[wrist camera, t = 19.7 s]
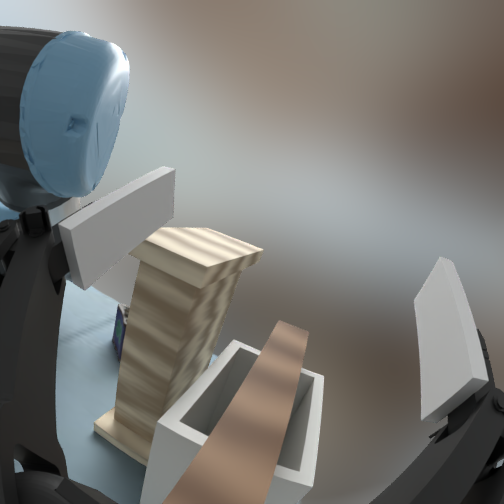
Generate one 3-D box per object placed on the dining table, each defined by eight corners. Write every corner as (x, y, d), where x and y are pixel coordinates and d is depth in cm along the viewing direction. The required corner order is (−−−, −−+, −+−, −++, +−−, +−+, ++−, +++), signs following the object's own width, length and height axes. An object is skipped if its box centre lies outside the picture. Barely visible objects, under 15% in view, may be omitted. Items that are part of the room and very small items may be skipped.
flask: (111, 337, 56) (118, 294, 54) (123, 338, 57) (131, 296, 56) (118, 363, 48) (126, 317, 47) (132, 364, 50) (141, 319, 48)
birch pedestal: (150, 469, 28) (207, 266, 24) (93, 430, 30) (119, 227, 26) (209, 397, 50) (263, 249, 45) (165, 373, 52) (207, 228, 47)
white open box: (230, 556, 18) (312, 487, 14) (137, 514, 20) (157, 421, 17) (265, 469, 35) (324, 376, 32) (195, 439, 37) (233, 339, 34)
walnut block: (224, 560, 7) (250, 541, 7) (152, 529, 8) (161, 504, 8) (296, 358, 34) (309, 331, 34) (267, 346, 35) (279, 319, 35)
